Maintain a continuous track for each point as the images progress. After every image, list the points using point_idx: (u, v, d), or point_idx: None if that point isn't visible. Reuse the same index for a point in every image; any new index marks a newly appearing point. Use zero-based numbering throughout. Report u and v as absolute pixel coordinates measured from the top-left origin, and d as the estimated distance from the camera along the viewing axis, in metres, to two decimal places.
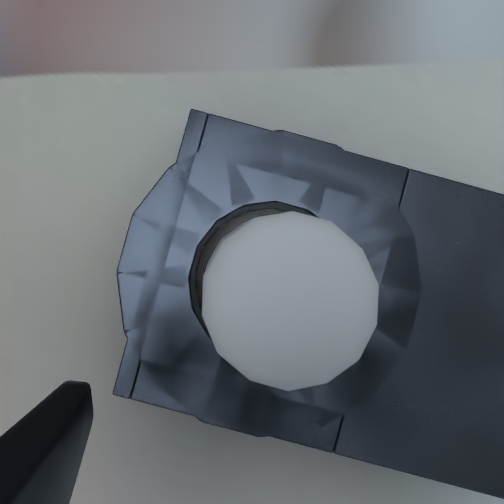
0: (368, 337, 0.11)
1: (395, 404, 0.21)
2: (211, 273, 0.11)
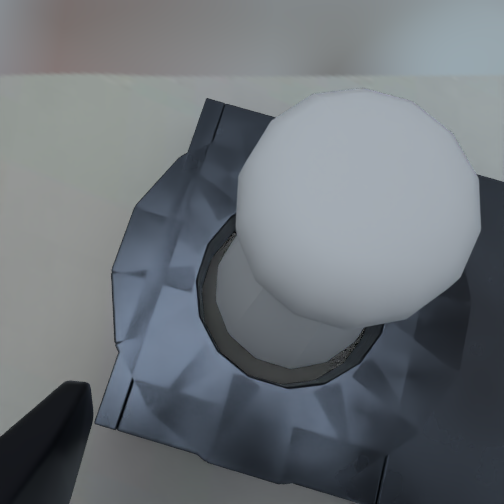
0: (471, 245, 0.08)
1: (450, 442, 0.17)
2: (254, 154, 0.08)
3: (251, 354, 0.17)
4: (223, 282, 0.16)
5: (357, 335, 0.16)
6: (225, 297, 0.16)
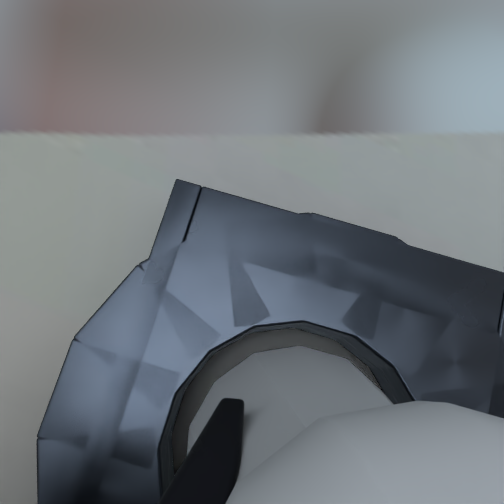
0: None
1: None
2: None
3: None
4: None
5: None
6: None
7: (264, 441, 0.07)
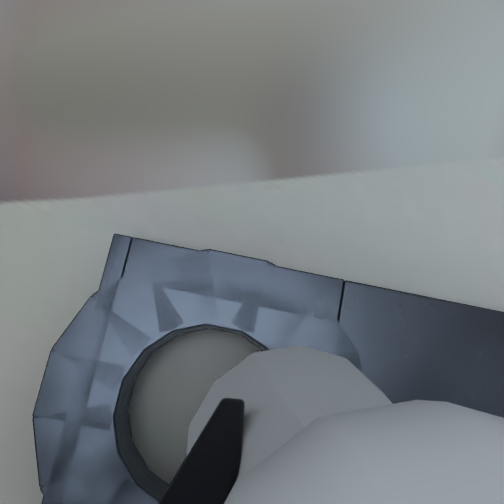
0: None
1: None
2: None
3: None
4: None
5: None
6: None
7: (263, 441, 0.07)
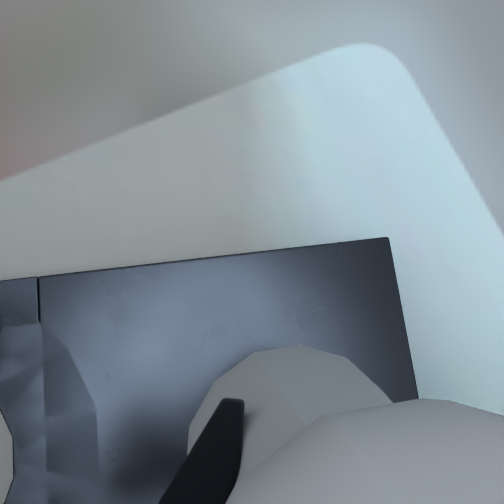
0: None
1: None
2: None
3: None
4: None
5: None
6: None
7: (264, 439, 0.07)
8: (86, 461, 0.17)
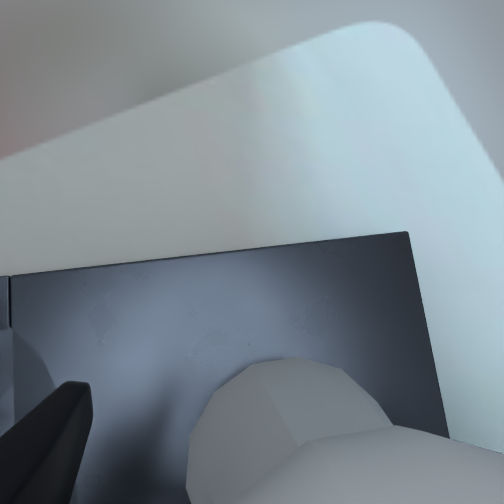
0: None
1: None
2: None
3: None
4: (193, 487, 0.11)
5: None
6: None
7: (260, 455, 0.08)
8: None
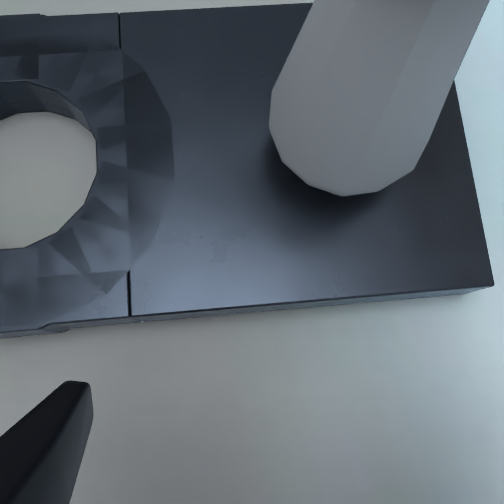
0: None
1: (181, 240, 0.18)
2: None
3: (305, 177, 0.17)
4: (282, 88, 0.15)
5: (421, 148, 0.15)
6: (285, 102, 0.15)
7: None
8: (162, 162, 0.19)
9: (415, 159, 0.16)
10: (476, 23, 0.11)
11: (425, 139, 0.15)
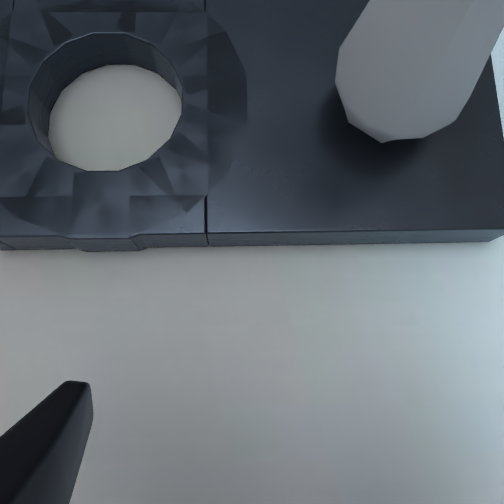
0: None
1: (251, 173, 0.22)
2: None
3: (365, 120, 0.20)
4: (353, 42, 0.19)
5: (465, 98, 0.19)
6: (355, 52, 0.18)
7: None
8: (238, 108, 0.22)
9: (459, 108, 0.19)
10: None
11: (470, 88, 0.18)
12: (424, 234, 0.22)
